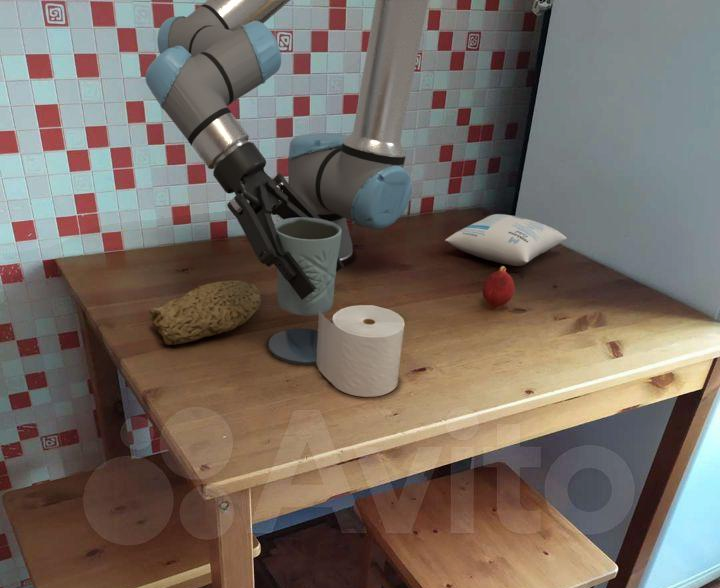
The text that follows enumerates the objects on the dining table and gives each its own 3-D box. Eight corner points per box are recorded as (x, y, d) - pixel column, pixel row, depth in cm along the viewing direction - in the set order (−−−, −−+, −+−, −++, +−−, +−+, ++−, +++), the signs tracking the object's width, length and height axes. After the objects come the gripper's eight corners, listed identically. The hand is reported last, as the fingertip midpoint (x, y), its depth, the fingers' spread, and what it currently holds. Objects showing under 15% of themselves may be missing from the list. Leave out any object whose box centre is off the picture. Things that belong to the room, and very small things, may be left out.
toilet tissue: (405, 396, 114) (413, 335, 108) (327, 400, 111) (330, 338, 105) (388, 361, 122) (394, 303, 116) (315, 364, 120) (317, 305, 114)
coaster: (255, 353, 121) (255, 350, 121) (288, 325, 130) (288, 322, 129) (321, 371, 118) (321, 368, 118) (350, 342, 127) (350, 338, 126)
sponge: (176, 363, 119) (286, 317, 126) (158, 317, 115) (273, 271, 121) (151, 341, 129) (254, 299, 136) (134, 298, 125) (241, 257, 131)
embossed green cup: (288, 321, 114) (289, 242, 106) (262, 294, 120) (262, 218, 113) (348, 312, 118) (353, 235, 110) (320, 286, 125) (324, 213, 117)
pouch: (493, 199, 170) (448, 216, 156) (571, 224, 162) (532, 244, 148) (485, 234, 174) (441, 254, 161) (561, 260, 167) (522, 282, 153)
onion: (509, 316, 139) (518, 275, 134) (478, 312, 140) (486, 270, 135) (510, 304, 144) (519, 263, 139) (480, 299, 145) (488, 259, 140)
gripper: (252, 155, 121) (336, 271, 127) (173, 190, 104) (274, 322, 110) (282, 125, 117) (368, 246, 122) (204, 156, 100) (308, 295, 105)
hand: (323, 282), depth 116 cm, fingers closed on embossed green cup, 10 cm apart
